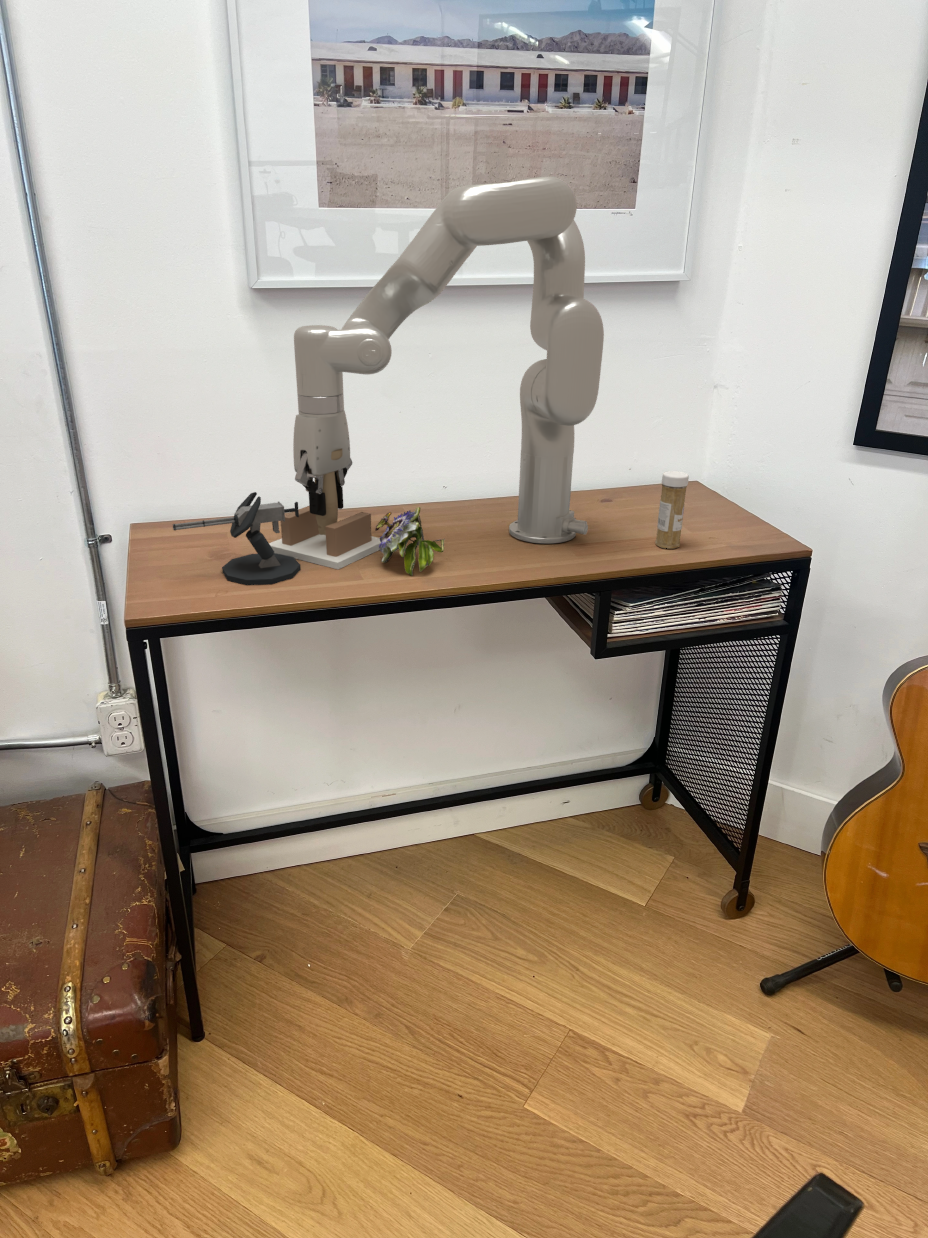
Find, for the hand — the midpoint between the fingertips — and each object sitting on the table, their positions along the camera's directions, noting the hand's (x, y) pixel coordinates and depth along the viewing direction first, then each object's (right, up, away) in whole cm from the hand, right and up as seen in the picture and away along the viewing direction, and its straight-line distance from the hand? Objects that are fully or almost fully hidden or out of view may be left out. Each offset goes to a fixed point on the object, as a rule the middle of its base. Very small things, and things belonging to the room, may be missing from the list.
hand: (326, 509), depth 152 cm
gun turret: (-12, -12, -9) cm, 19 cm away
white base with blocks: (0, -7, +3) cm, 7 cm away
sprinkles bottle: (+61, -6, +8) cm, 62 cm away
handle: (0, -4, +2) cm, 4 cm away
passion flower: (+15, -10, -3) cm, 18 cm away
